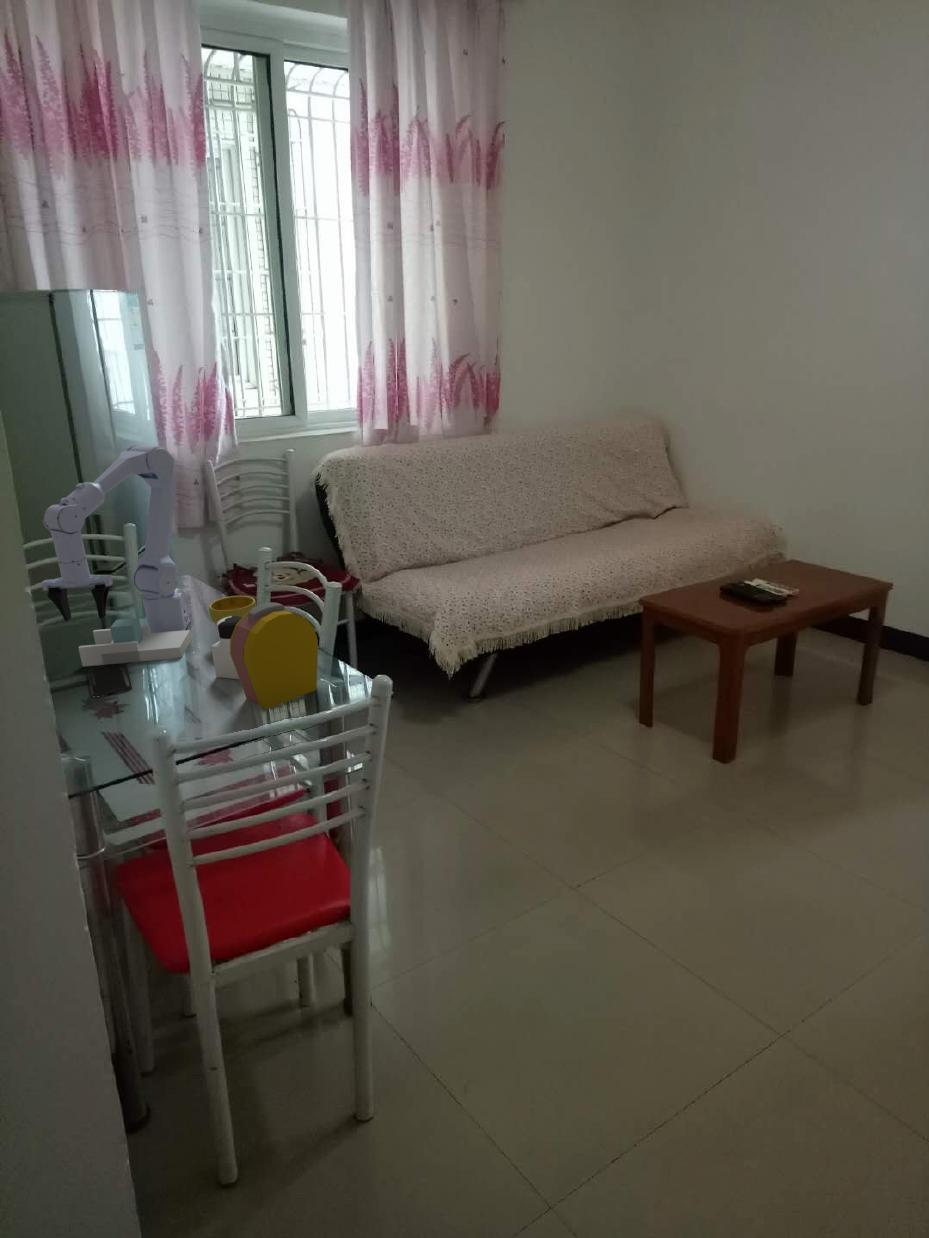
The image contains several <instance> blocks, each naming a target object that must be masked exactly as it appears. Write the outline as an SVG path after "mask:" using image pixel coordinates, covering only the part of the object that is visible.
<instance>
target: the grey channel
mask: <svg viewBox="0 0 929 1238" xmlns="http://www.w3.org/2000/svg"><path fill="white" fill-rule="evenodd" d="M141 630H142V635H143V639H142V641H141V642H140V643H139V644H138V641H131V642H120V643H113V639H112V634H111V630H110V628H105V629H94V630H93V631H92V634H93V638H94V642H95V644H89V645H88V644H87V645H79V646H78V653H79V656H80V661H81V665H82V668H83V667H93V666H105V665H115V664H120V663H125V664H126V663H138V662H147V661H148V662H149V661H159V660H171V659H180V658H183V656H184V654H186V653H185V652H186V651H187V649H188V647H189V645H190V644H191V642H192V640H193V639H192V633H191V629H187V630H186V629H185V630H184V631H172V632H161V633H151V631H150V626H149V625H148V624H147V625H141Z"/></svg>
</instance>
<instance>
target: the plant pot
mask: <svg viewBox="0 0 929 1238" xmlns="http://www.w3.org/2000/svg"><path fill="white" fill-rule="evenodd" d="M256 606H257V601H256V599H255V598H254V597H252V596H248V595H231V596H226V597H221V598H219V599H218V598H217V599H216V600H213V601H212V602H211V603H210V604H209V606H208V610H209V615H210V616H209V617H210V620H211V622H212V623H214V625H215V627H216V628H217V625H216V624H217V622H218V621H219V620H221V619H223V618H226V617H230V616H240V617H243V616H244V615H245V614H246V613H248V612H249V611H250V610H251V609H252V608H254V607H256Z"/></svg>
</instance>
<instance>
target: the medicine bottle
mask: <svg viewBox="0 0 929 1238" xmlns="http://www.w3.org/2000/svg"><path fill="white" fill-rule="evenodd" d="M241 619H242V617H240V616H230V617H226V618H223V619H221V620H219V621H218V622H217V624H216V625H217V627H216V630H217V635H218V636H217V637H218V641H217V642H215V643H214V644H212V645H211V646H210V649H211V655H212V661H213V667H214V672H215V677H216V678H220V679H221V678H222V679H230V680H232V679H233V680H240V679H239V676H238V674H237V671H236V668H235V665H234V663H233V660H232V658H231V655H230V639H231V636H232V634H233V631H234V629H235V626H236V624H237V623H238V622H239V621H240V620H241ZM216 625H215V626H216Z"/></svg>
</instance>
